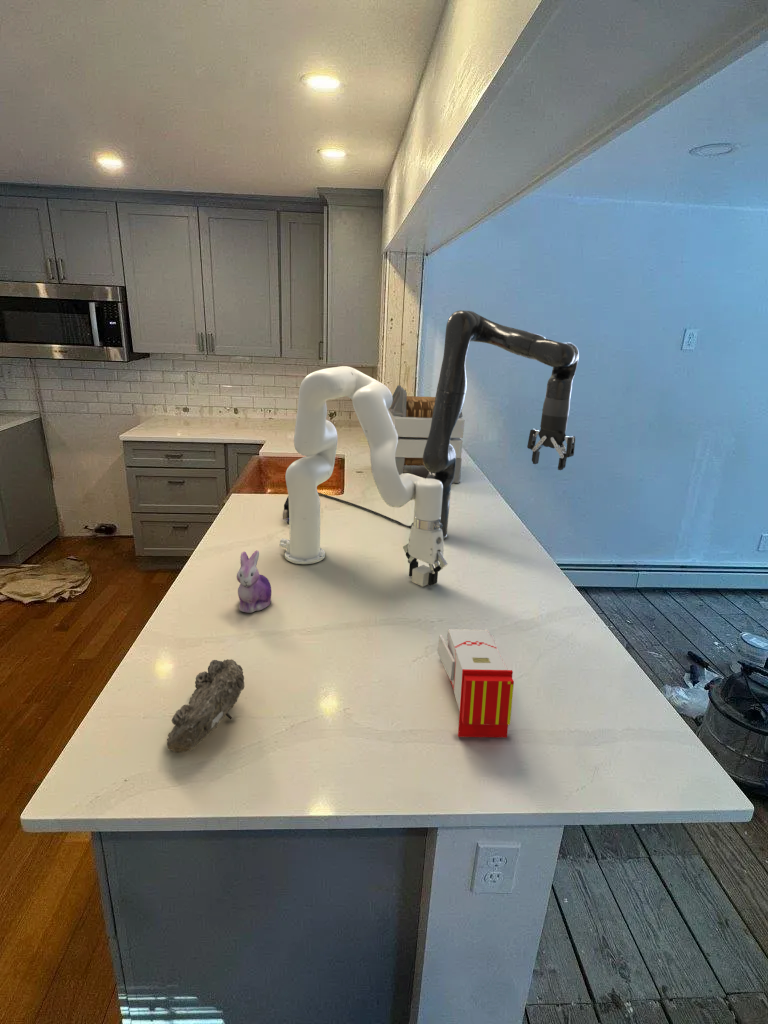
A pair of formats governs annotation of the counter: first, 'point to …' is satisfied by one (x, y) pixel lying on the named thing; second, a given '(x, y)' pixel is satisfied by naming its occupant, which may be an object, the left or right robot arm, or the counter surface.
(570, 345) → the right robot arm
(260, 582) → the figurine
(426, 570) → the block
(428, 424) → the white wooden crate
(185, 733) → the fossil
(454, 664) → the toy
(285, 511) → the figurine character
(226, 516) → the counter surface
